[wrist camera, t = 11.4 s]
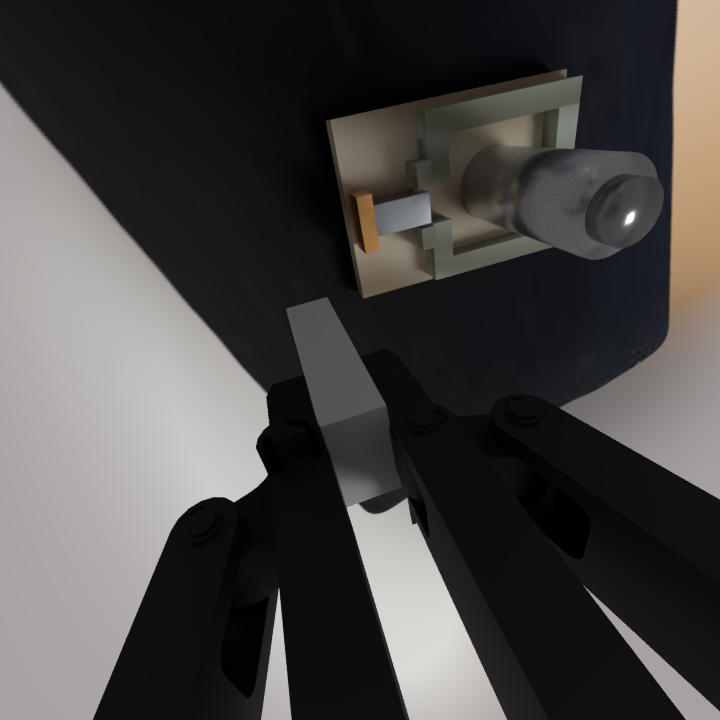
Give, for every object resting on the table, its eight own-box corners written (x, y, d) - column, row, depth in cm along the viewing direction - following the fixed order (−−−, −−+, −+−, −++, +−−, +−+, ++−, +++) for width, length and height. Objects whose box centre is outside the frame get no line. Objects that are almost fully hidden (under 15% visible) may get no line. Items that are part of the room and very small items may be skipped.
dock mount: (325, 120, 25) (337, 119, 22) (551, 71, 27) (589, 64, 24) (358, 291, 31) (371, 308, 28) (537, 241, 33) (566, 251, 30)
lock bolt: (347, 192, 26) (356, 197, 24) (416, 175, 26) (431, 179, 24) (356, 245, 28) (365, 254, 26) (420, 228, 28) (434, 235, 26)
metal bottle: (459, 153, 26) (596, 167, 16) (523, 137, 27) (694, 142, 17) (461, 226, 29) (579, 277, 19) (519, 210, 30) (664, 251, 20)
